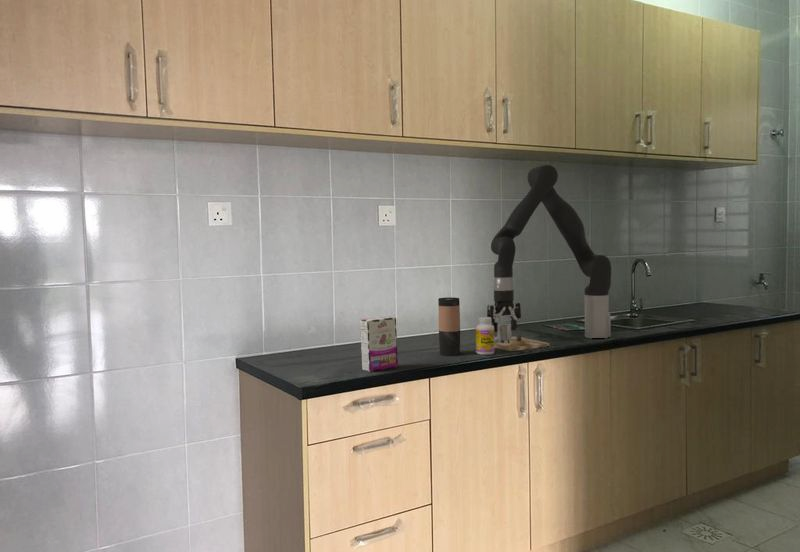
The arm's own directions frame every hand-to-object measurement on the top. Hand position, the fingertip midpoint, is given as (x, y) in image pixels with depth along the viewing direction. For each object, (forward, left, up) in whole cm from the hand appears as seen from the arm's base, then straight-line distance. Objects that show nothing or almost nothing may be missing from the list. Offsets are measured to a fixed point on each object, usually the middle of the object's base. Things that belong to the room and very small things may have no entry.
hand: (504, 330), depth 245 cm
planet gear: (0, 0, -4) cm, 4 cm away
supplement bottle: (+17, +12, -6) cm, 21 cm away
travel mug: (+28, +6, -5) cm, 29 cm away
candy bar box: (+60, +15, -6) cm, 62 cm away
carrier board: (-2, +3, -5) cm, 6 cm away
